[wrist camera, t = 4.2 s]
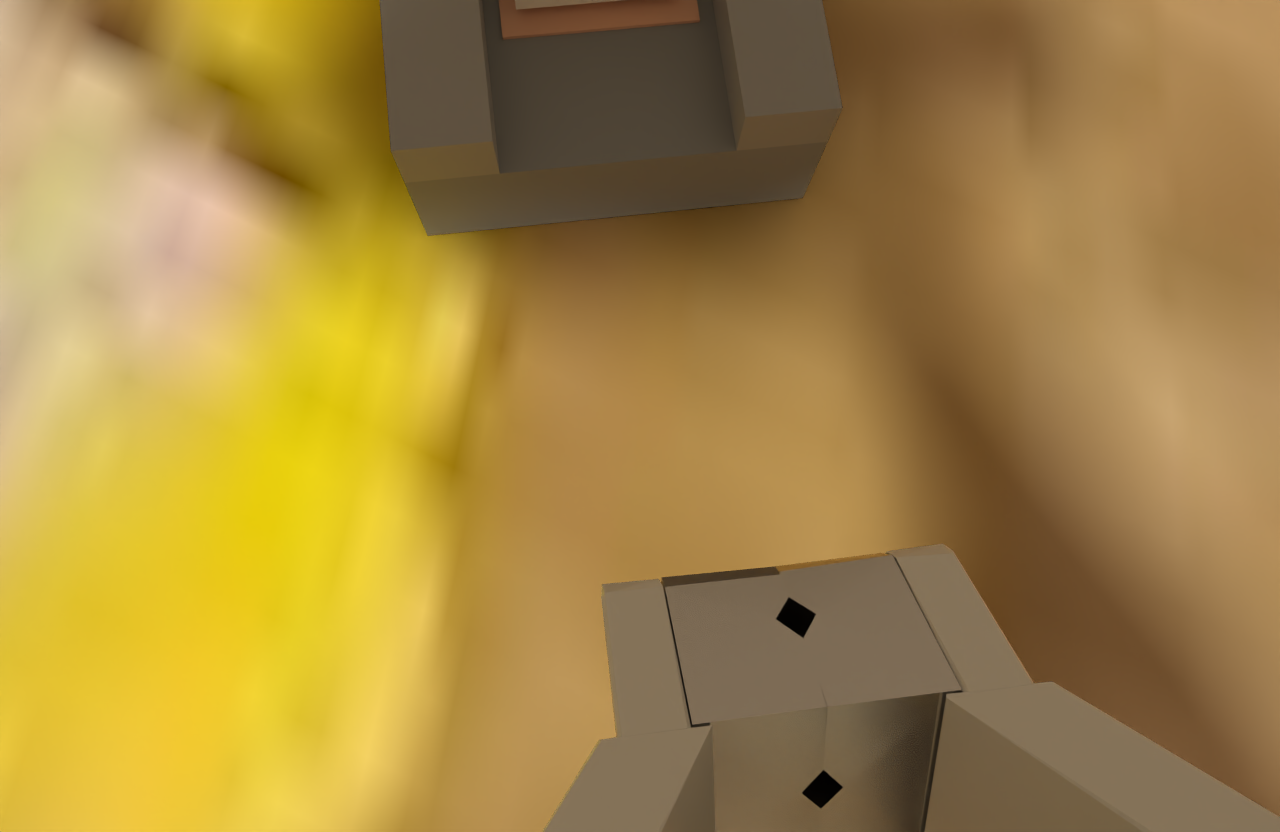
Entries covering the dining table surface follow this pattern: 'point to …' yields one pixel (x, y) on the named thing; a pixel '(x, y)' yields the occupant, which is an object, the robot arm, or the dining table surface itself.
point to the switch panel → (604, 106)
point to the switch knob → (552, 3)
